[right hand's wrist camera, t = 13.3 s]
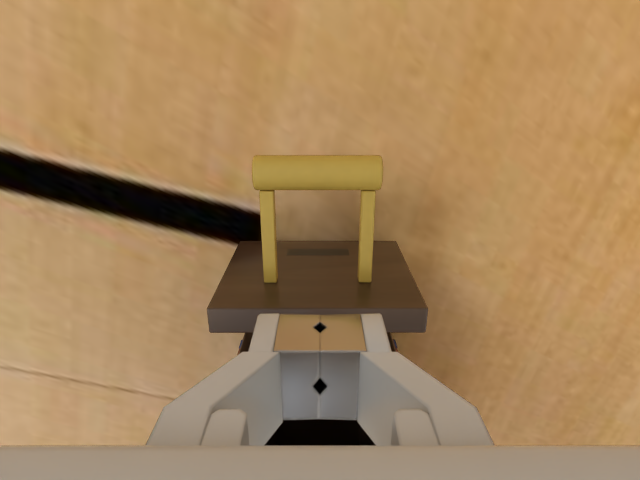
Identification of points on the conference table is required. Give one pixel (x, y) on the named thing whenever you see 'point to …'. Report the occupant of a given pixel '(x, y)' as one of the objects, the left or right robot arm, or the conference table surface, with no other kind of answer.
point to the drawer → (317, 274)
